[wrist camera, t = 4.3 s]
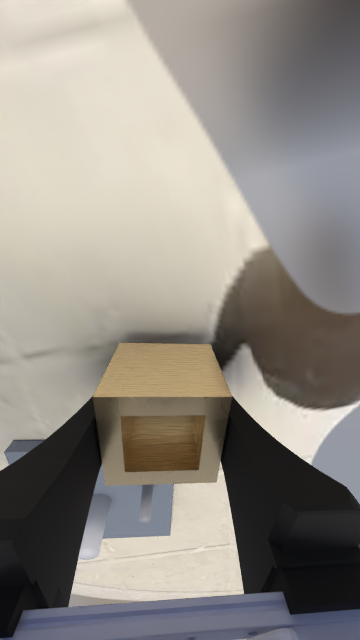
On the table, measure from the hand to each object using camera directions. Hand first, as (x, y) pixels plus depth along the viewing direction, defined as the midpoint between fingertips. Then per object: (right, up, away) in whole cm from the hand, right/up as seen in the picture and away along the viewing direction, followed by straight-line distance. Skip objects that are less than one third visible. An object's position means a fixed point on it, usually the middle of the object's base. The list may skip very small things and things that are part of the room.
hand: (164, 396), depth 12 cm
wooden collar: (0, +1, +1) cm, 1 cm away
